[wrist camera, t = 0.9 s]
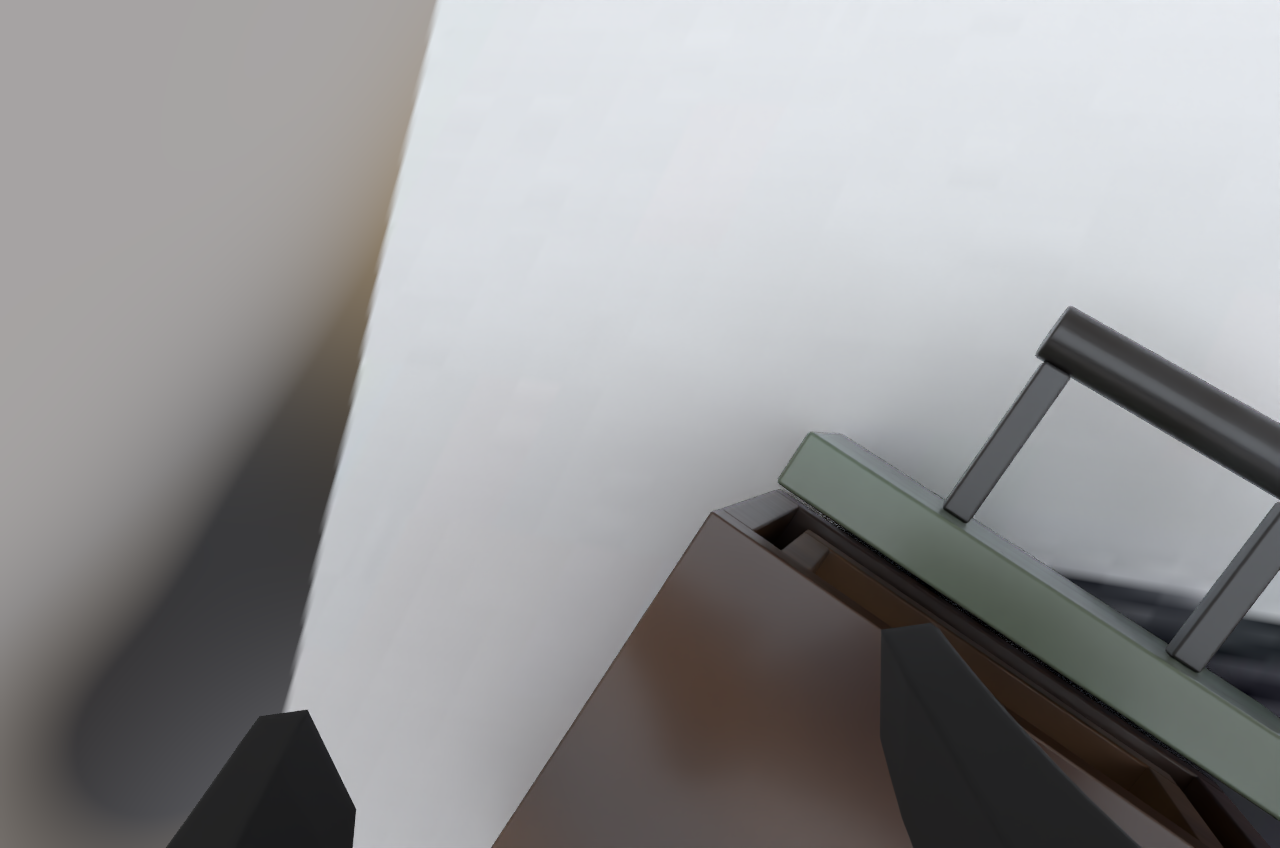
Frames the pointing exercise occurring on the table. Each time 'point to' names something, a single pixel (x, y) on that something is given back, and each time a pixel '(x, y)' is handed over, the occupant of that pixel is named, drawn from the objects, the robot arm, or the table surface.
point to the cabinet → (783, 714)
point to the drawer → (1051, 604)
